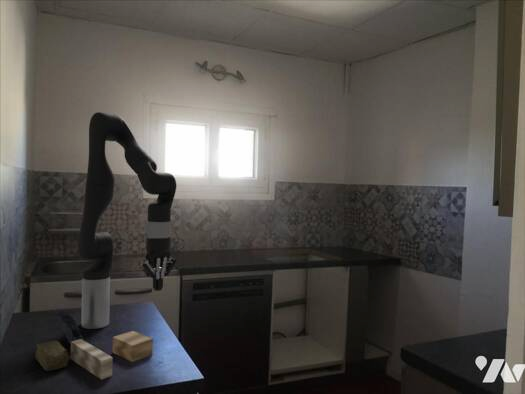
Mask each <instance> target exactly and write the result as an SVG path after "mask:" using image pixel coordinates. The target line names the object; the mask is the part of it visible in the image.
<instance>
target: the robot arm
mask: <svg viewBox="0 0 525 394" xmlns="http://www.w3.org/2000/svg"><path fill="white" fill-rule="evenodd" d="M106 142H116V143H117V144H119V145H120V146H121V147H122V148H123V150H124V159H125V162H126V163H127V166H129V168H130V169H132V171H133V173H135V174H136V175H137V178H138V180H139V183H140V186H141V187H142V189H143V190H144V191H145V192H146V193H148V195H153V196H157V195H158V196H157V199H156V200H155V201H154V202H151V203H149V204H148V207H147V224H146V241H145V242H146V245H145V250H146V255H145V259H144V260H143V261H142V262H139V263H138V266H139V267H140V269H141V270H142V272H143V273H144V274H145V275H146V276H147V278H151V279H152V289H153V290H154V291H156V292H159V291H162V289H163V287H164V279H165V277H166V276H169V275H170V273H171V271H172V270H173V268H174V267H175V264H176V263H177V259H176V258H173V257H172V256H171V252H170V251H171V247H172V225H171V217H172V216H171V213H172V212H171V209H172V206H173V203H174V199H175V195H176V191H177V181H176V178H175V176H174V175H173V174H172V173H170V172H159V171H158V172H157V170H158V167H157V165H158V164H157V163H156V161H155V160H154V159H153V158H152V157H151V156H150V155H149V153H147V152H146V150H144V148H143V147H142V146H141V145H140V143H139V141H138V140H137V138H136V137H135V135H134V133H133V132H132V130H131V129H130V127H129V125H128V124H127V122H126V121H125V120H124V119H123V117H122V116H119V115H116V114H111V113H105V112H94V113H93V114H92V115H91V118H90V119H89V125H88V162H87V163H88V164H87V172H86V173H87V174H86V180H85V181H86V182H85V188H84V203H83V204H84V205H83V210H82V211H83V212H82V219H81V224H80V229H79V234H78V240H77V253H78V256H79V258H80V259H82V260H84V261H88V260H94V262H93V263H92V264H91V265H89V266H88V267H85V268H84V269H83V270H82V276H81V277H82V280H81V282H82V284H81V285H82V286H81V313H80V314H81V317H80V318H81V319H80V320H81V322H80V323H81V327H82V328H83V329H87V330H95V329H96V330H97V329H101V328H105V327H107V326H109V324H110V306H111V305H110V303H111V301H110V300H111V299H110V297H111V272H112V268H113V259H114V257H113V256H114V239H113V237H112V235H111V234H110V233H109V232H107V231H102V232H101V231H100V232H96V231H97V227H98V222H99V220H100V218H101V217H102V215H103V214H104V213H105V211H106V210H107V209H108V207H109V205H110V204H111V202H112V200H113V198H114V190H115V181H116V180H115V176H114V173H113V170H112V168H111V166H110V164H109V162H108V159H107V156H106Z"/></svg>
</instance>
